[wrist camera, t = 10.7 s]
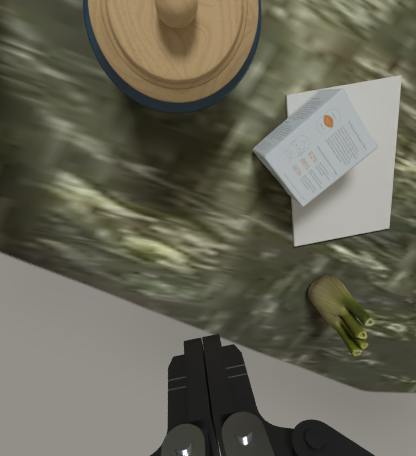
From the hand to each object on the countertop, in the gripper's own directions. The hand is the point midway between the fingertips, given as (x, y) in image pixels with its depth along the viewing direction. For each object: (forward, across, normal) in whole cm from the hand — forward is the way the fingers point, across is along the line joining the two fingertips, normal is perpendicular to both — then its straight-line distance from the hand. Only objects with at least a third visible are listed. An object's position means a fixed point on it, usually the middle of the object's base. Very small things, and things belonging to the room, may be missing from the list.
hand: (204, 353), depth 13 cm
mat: (+29, -21, +2) cm, 36 cm away
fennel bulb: (+29, -18, +20) cm, 40 cm away
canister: (+29, -2, -15) cm, 33 cm away
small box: (+26, -11, +1) cm, 28 cm away
